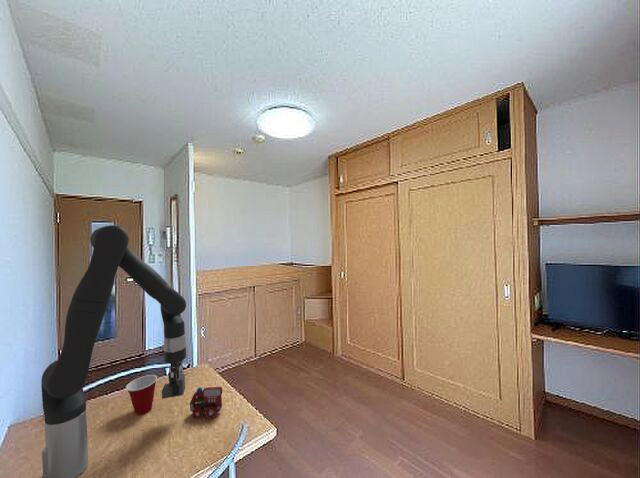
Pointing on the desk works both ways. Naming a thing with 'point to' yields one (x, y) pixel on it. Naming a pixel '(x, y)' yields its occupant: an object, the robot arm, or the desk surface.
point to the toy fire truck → (206, 402)
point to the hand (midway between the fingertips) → (176, 391)
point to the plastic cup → (142, 393)
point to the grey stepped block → (168, 390)
